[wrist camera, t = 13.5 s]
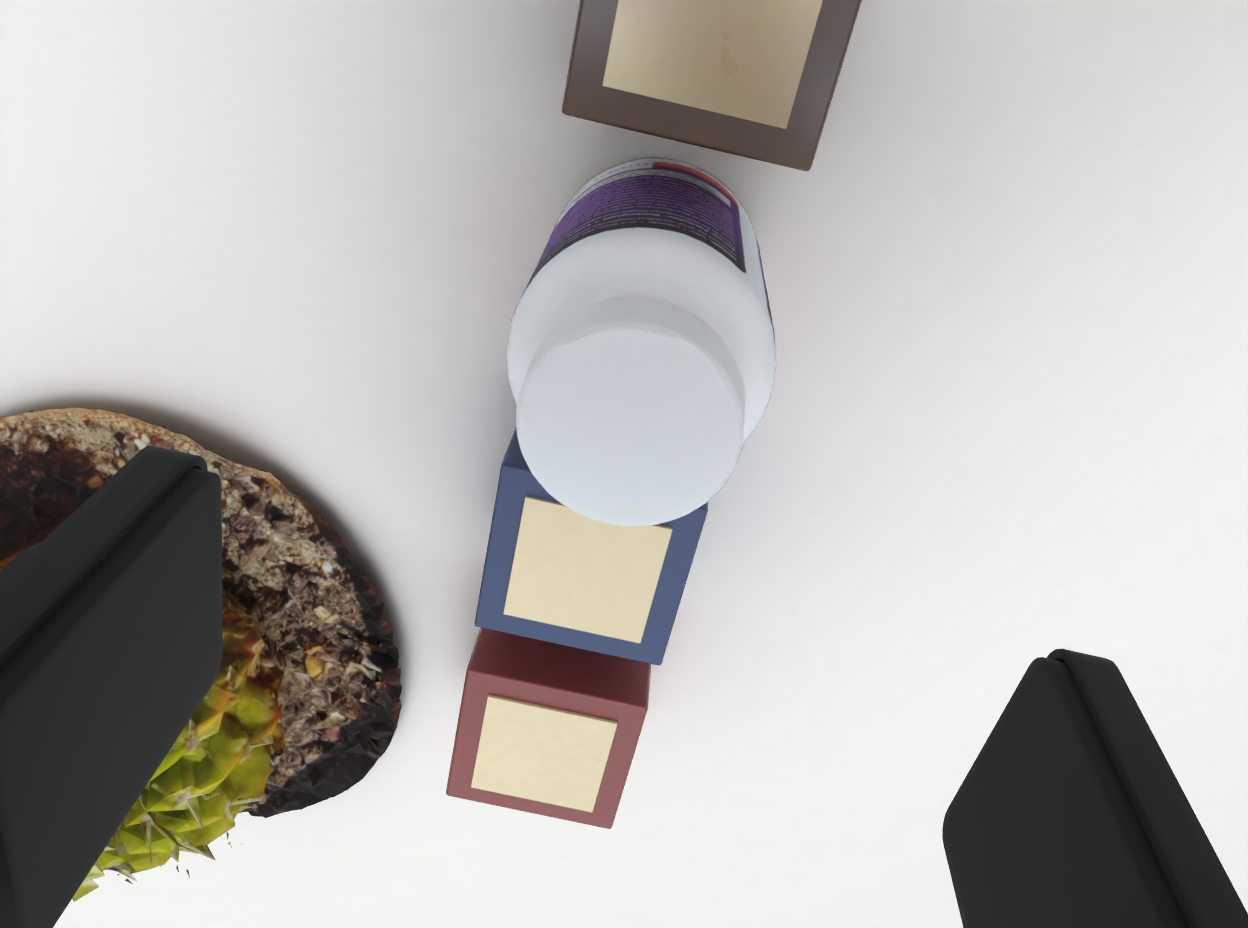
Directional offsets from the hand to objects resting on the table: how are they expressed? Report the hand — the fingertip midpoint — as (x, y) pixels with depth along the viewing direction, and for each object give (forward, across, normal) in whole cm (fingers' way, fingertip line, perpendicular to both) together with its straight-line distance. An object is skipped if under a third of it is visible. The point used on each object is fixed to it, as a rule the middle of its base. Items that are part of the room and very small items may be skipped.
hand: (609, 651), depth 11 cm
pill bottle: (+16, 0, +1) cm, 16 cm away
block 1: (+16, 0, +7) cm, 17 cm away
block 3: (+16, 0, -6) cm, 17 cm away
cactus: (+16, +13, +17) cm, 26 cm away
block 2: (+16, 0, +14) cm, 21 cm away
